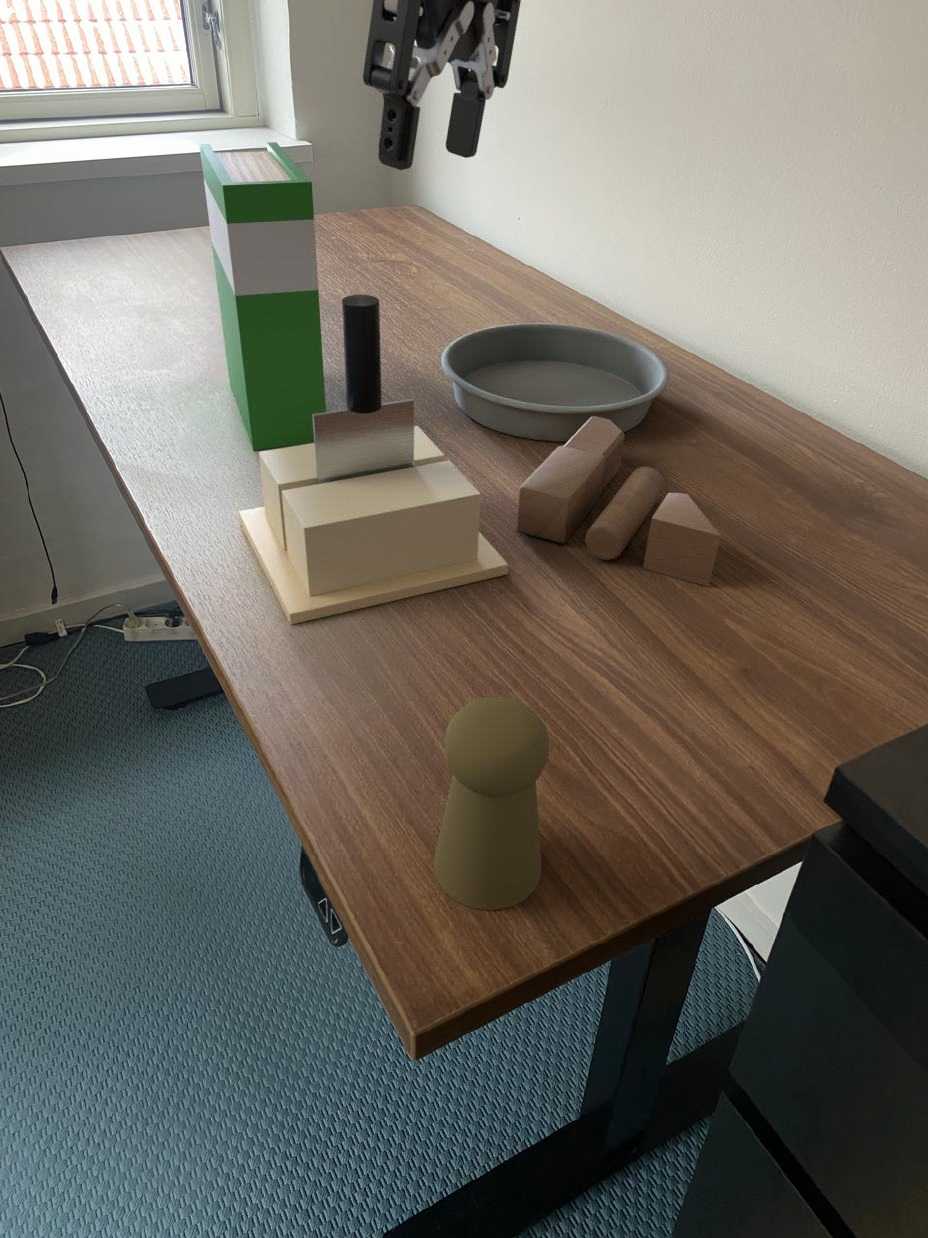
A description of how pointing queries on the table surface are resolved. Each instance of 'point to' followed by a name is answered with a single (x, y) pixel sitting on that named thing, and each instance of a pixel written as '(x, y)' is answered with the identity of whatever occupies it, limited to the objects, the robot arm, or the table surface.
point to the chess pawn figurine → (492, 804)
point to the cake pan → (552, 378)
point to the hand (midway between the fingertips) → (428, 160)
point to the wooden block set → (615, 506)
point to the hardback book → (267, 291)
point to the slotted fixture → (366, 532)
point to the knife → (363, 407)
